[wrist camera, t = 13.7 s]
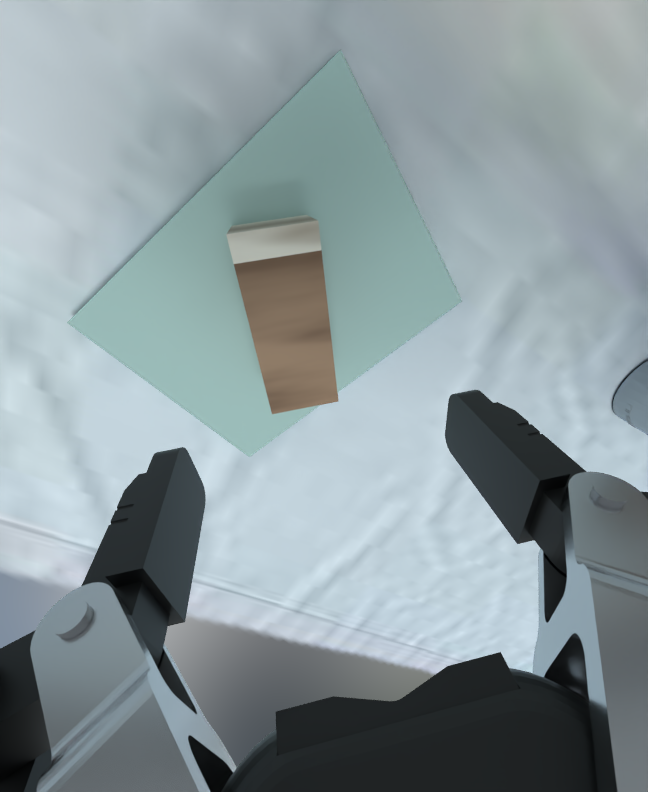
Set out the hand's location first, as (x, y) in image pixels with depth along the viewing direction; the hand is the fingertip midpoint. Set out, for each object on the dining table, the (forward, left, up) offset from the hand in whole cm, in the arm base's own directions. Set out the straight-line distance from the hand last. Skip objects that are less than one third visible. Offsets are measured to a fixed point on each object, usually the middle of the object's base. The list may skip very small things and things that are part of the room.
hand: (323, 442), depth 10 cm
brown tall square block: (+4, +6, -15) cm, 16 cm away
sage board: (+1, +1, -19) cm, 19 cm away
